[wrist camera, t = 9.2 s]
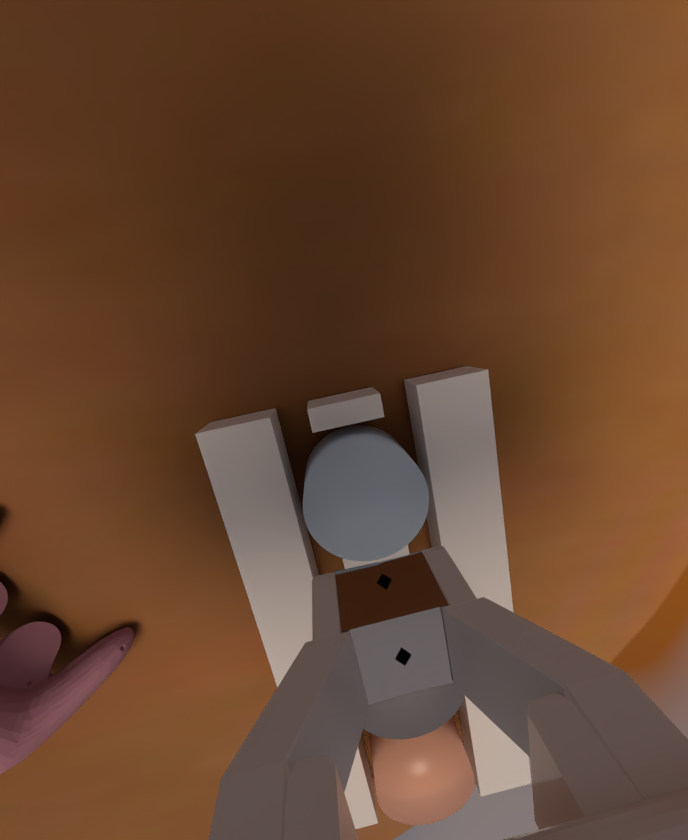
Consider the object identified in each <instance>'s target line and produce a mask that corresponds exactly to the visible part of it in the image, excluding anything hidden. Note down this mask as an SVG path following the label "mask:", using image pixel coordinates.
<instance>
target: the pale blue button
mask: <svg viewBox="0 0 688 840" xmlns="http://www.w3.org/2000/svg"><path fill="white" fill-rule="evenodd" d="M428 508H429V490H428V486H427V482H426V480H425V477H424V475H423V474H422V472H421V470H420V469H419V467H418V466H417V465H416V463H415V462H414V461H413V460H412V459H411V457H410V456H409V455H408V454H407V453H406V451H405V450H404V449H403V448H402V446H401V445H400V444H399V443H398V442H397V441H396V440H395V439H394V438H393V437H392V436H391V435H390V434H388V433H387V432H385V431H383V430H381V429H378V428H376V427H372V426H367V425H352V426H346V427H343V428H340V429H337V430H335V431H333V432H331V433H330V434H328V435H327V436H325V437H324V438H323V439H322V440H321V441H320V442H319V443H318V444H317V445H316V446H315V448H314V449H313V451H312V452H311V454H310V456H309V459H308V461H307V465H306V470H305V481H304V494H303V515H304V520H305V523H306V526H307V528H308V530H309V532H310V534H311V535H312V537H313V538H314V539H315V541H316V542H317V543H318V544H319V545H320V546H321V547H323V548H324V549H325V550H327V551H328V552H330V553H331V554H333V555H336V556H338V557H340V558H344V559H347V560H353V561H372V560H378V559H382V558H385V557H388V556H390V555H392V554H394V553H396V552H398V551H400V550H401V549H402V548H404V547H405V546H407V545H408V544H409V543H410V542H411V541H412V540H413V539H414V538H415V536H416V535H417V534H418V532H419V531H420V529H421V528H422V526H423V524H424V522H425V519H426V516H427V513H428Z"/></svg>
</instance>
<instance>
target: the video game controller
mask: <svg viewBox="0 0 688 840" xmlns="http://www.w3.org/2000/svg"><path fill="white" fill-rule="evenodd" d="M7 602H8V594H7V590H6V588H5V586H4V585H3V584H2V583H1V582H0V615H1V614H2V612H3V611H4V609H5V607H6V604H7ZM134 635H135V634H134V630H133V629H131V628H130V627H125V628H123V629H120V630H118V631H115V632H113V633H112V634H110V635H108V636H106V637H105V638H103V639H101V640H100V641H98V642H97V643H96V644H94V645H93V646H92V647H90V648H89V649H88V650H86V651H85V652H83V653H82V654H81V655H79V656H78V657H77V658H75V659H74V660H73V661H72V662H71V663H69V664H68V665H67V666H66V667H65V668H63V669H62V670H61V671H60V672H59V673H57V674H53V675H52V673H51V666H52V663H53V661H54V659H55V657H56V655H57V652H58V650H59V648H60V644H61V634H60V631H59V630H58V628H57V627H56V626H54V625H53V624H51V623H47V622H40V621H38V622H31V623H28V624H26V625H23V626H21V627H19V628H17V629H15V630H13V631H12V632H10V633H9V634H7V635H6V636H5V637H4V638H3V639H2V640H1V641H0V774H2V773H3V772H5V771H7V770H8V769H10V768H11V767H13V766H15V765H16V764H18V763H20V762H21V761H23V760H24V759H25V758H26V757H27V756H29V755H30V754H31V753H32V752H33V751H34V750H35V749H37V748H38V747H39V746H40V745H41V744H42V743H43V742H45V741H46V740H47V739H48V738H49V737H50V736H51V735H52V734H53V733H54V732H55V731H56V730H58V729H59V728H60V727H61V726H62V725H63V724H64V723H65V722H66V721H67V720H68V719H69V718H70V717H71V716H72V715H73V714H74V713H75V712H76V711H77V710H78V709H79V708H80V707H81V706H82V705H83V704H84V702H85V701H86V700H87V699H88V698H89V697H90V696H91V695H92V694H93V693H94V692H95V691H96V690H97V689H98V688H99V686H100V685H101V684H102V683H103V682H104V681H105V680H106V679H107V678H108V677H109V676H110V675H111V673H112V672H113V671H114V670H115V669H116V668H117V666H118V665H119V664H120V663H121V661H122V659H123V658H124V656H125V655H126V653H127V652H128V650H129V648H130V646H131V644H132V642H133V639H134Z"/></svg>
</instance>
